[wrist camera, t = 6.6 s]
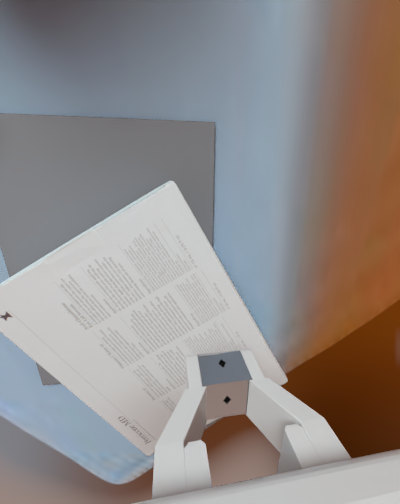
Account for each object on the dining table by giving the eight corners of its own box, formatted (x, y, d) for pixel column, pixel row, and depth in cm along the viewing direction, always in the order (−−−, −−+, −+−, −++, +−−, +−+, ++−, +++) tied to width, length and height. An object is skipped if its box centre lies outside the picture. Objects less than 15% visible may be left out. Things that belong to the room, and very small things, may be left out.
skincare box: (172, 179, 18) (14, 273, 18) (175, 176, 13) (-47, 307, 13) (264, 343, 25) (150, 409, 25) (290, 383, 20) (146, 466, 20)
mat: (214, 123, 17) (214, 122, 17) (209, 363, 25) (210, 365, 24) (-37, 112, 15) (-41, 111, 14) (44, 382, 22) (43, 385, 22)
